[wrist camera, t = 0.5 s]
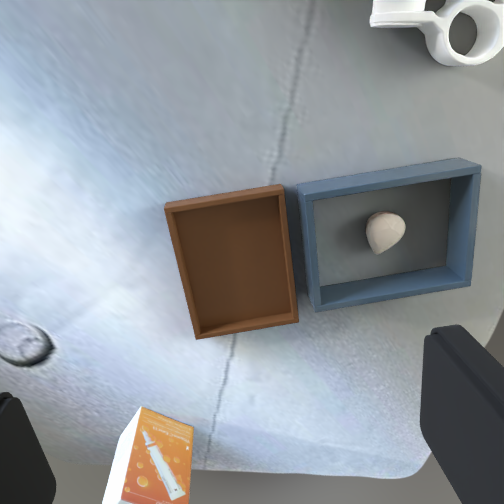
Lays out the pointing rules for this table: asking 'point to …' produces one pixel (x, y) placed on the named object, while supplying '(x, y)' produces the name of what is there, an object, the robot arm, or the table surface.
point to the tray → (234, 260)
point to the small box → (151, 462)
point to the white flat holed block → (446, 26)
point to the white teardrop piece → (384, 230)
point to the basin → (403, 284)
